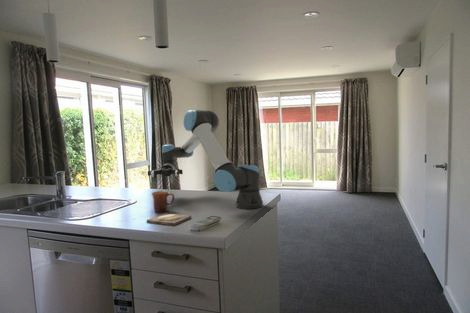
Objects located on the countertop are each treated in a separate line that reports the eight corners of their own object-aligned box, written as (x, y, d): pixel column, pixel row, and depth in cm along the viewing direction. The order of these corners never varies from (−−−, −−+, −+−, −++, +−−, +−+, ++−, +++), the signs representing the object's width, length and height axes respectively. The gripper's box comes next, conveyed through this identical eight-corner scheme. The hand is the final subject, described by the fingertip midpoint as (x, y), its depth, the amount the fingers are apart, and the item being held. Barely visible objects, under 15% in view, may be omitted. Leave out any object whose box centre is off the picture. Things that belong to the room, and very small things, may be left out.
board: (191, 218, 163) (191, 215, 163) (174, 225, 151) (174, 222, 151) (165, 215, 170) (164, 212, 170) (146, 222, 158) (146, 219, 158)
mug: (151, 213, 176) (150, 194, 175) (154, 209, 185) (153, 191, 184) (173, 212, 176) (172, 193, 176) (176, 208, 185) (175, 190, 184)
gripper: (187, 175, 212) (186, 179, 191) (147, 176, 209) (141, 181, 188) (186, 163, 211) (185, 166, 190) (146, 164, 208) (141, 168, 187)
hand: (163, 174), depth 189 cm, fingers open, 13 cm apart
